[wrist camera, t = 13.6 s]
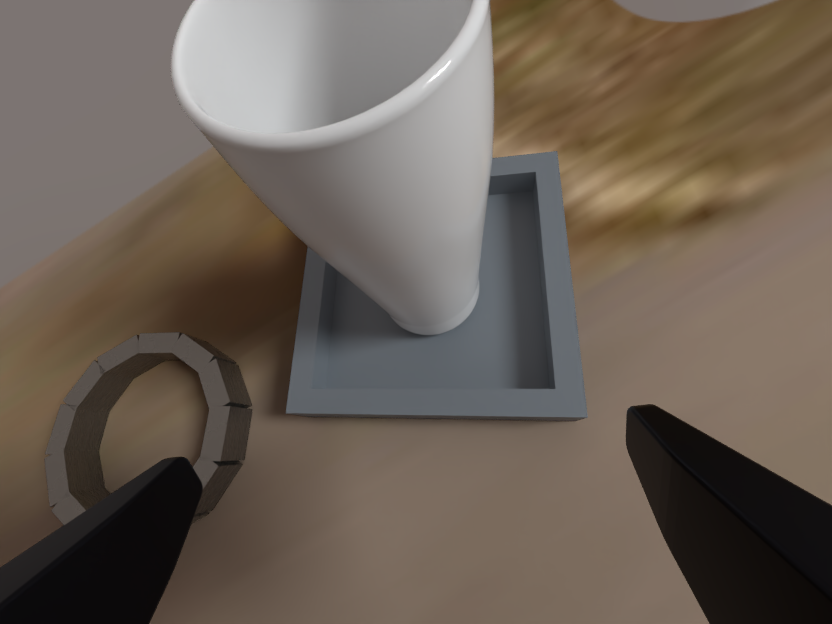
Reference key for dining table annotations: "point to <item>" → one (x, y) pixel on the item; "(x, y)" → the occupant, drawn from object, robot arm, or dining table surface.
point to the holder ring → (103, 385)
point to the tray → (467, 343)
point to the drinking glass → (357, 134)
